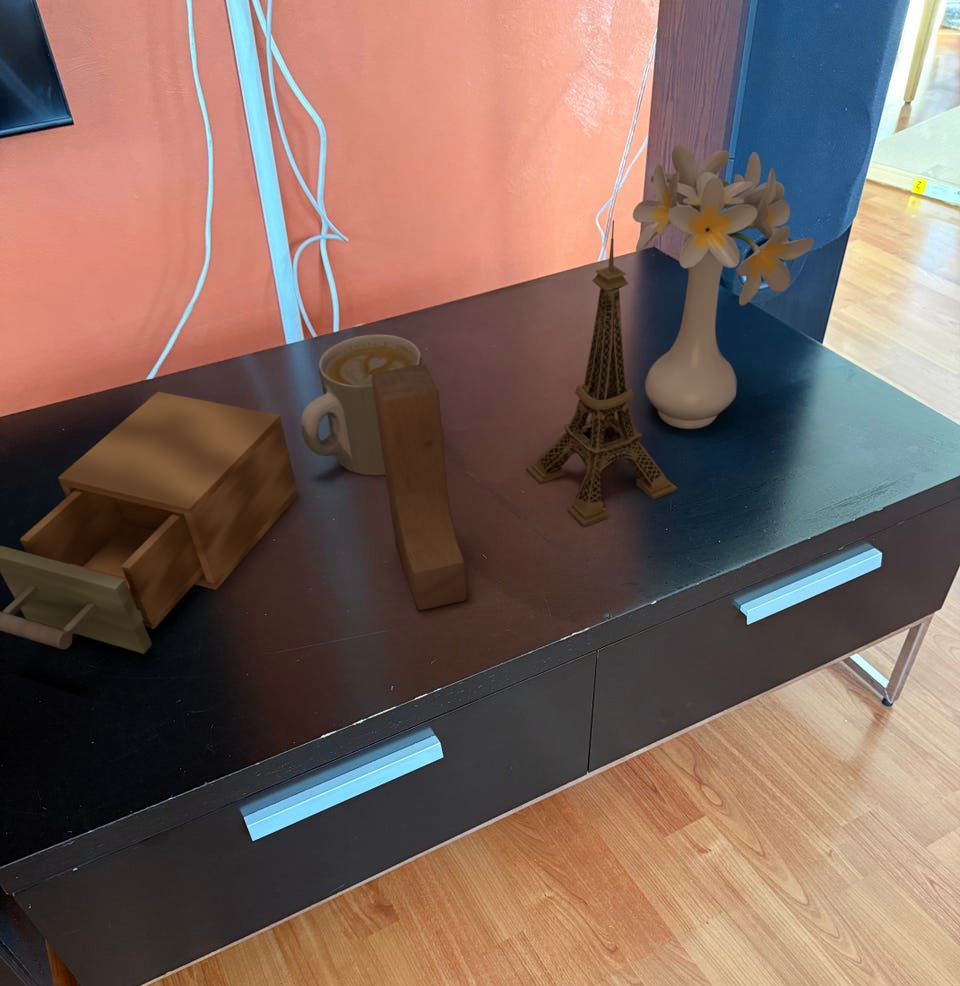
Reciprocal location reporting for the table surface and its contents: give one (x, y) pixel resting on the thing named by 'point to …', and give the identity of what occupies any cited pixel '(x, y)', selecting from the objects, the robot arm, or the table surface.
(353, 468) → the coffee mug
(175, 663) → the table surface
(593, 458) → the eiffel tower
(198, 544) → the cabinet
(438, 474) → the wooden block
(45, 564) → the drawer
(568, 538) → the table surface
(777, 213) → the flower vase
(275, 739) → the table surface
